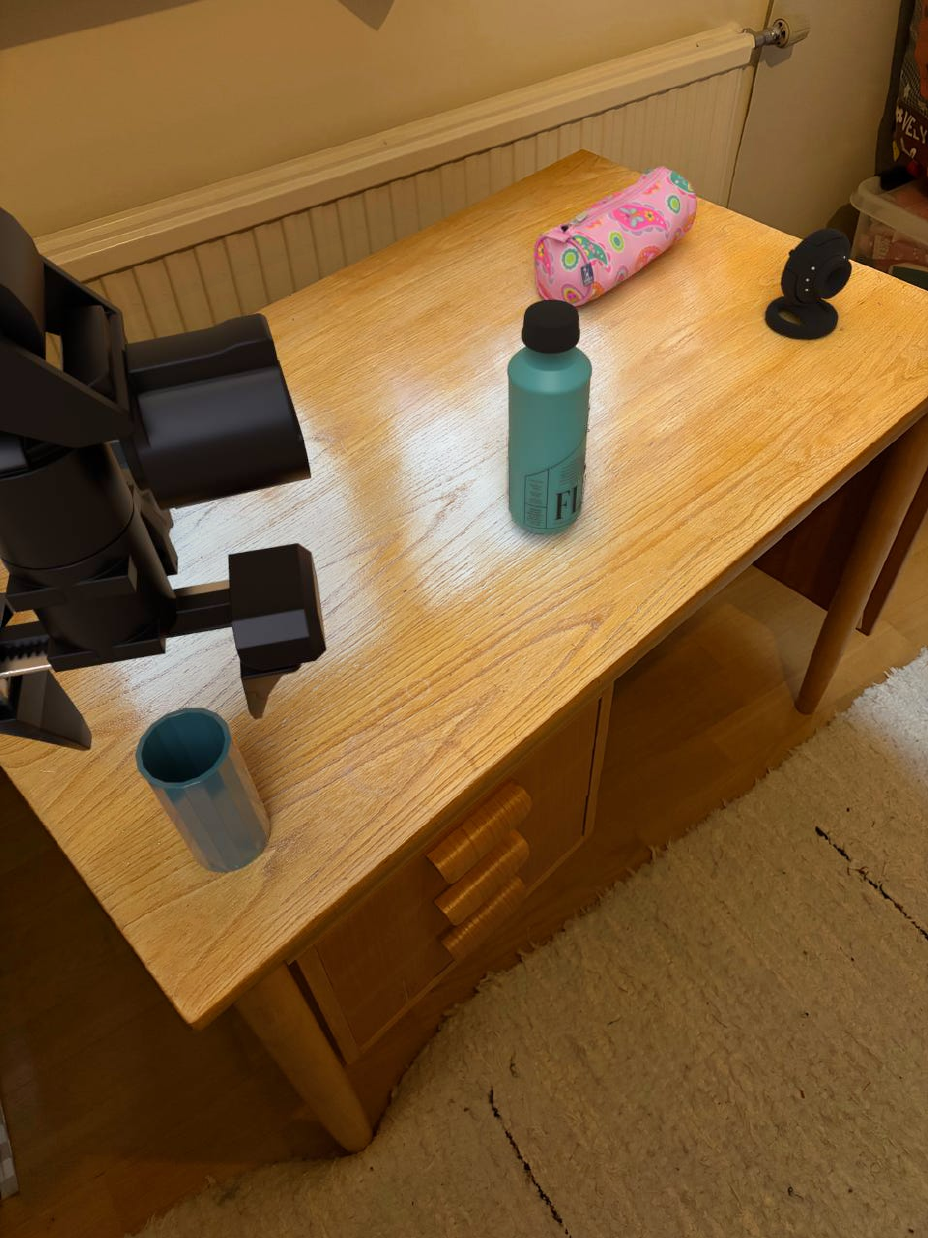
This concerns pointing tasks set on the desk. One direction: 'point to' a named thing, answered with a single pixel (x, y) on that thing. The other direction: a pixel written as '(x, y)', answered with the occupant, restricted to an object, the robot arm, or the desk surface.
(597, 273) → the pencil case
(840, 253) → the webcam
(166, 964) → the desk surface
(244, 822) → the cup
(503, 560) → the desk surface
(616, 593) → the desk surface
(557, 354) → the beverage bottle
